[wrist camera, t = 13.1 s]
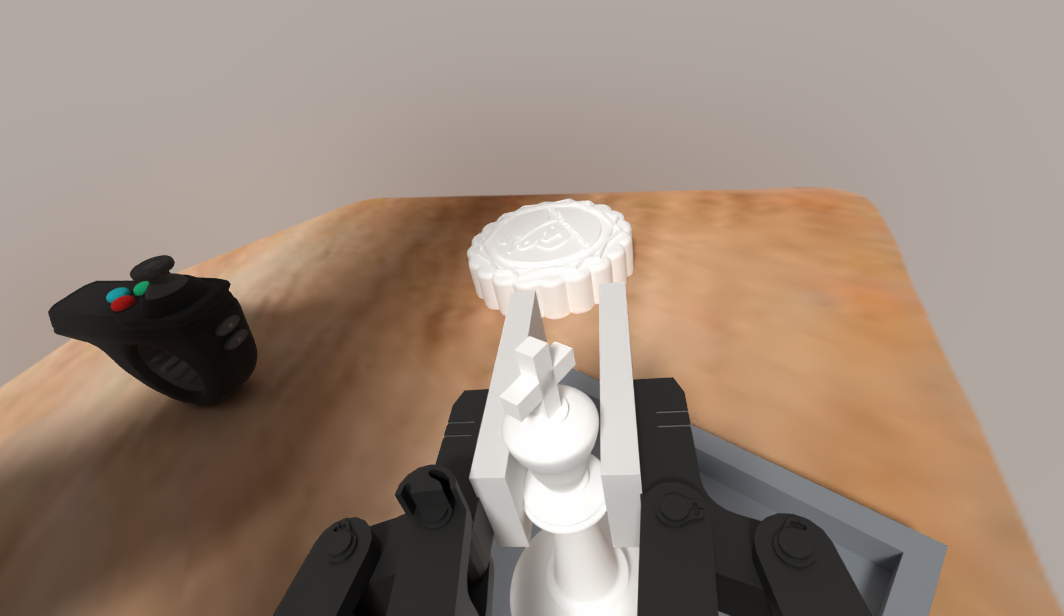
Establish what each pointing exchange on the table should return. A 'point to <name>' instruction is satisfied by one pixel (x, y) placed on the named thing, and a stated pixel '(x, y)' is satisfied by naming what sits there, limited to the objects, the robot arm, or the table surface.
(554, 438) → the chess piece
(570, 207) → the mooncake
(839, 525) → the tray
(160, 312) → the controller
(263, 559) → the table surface
